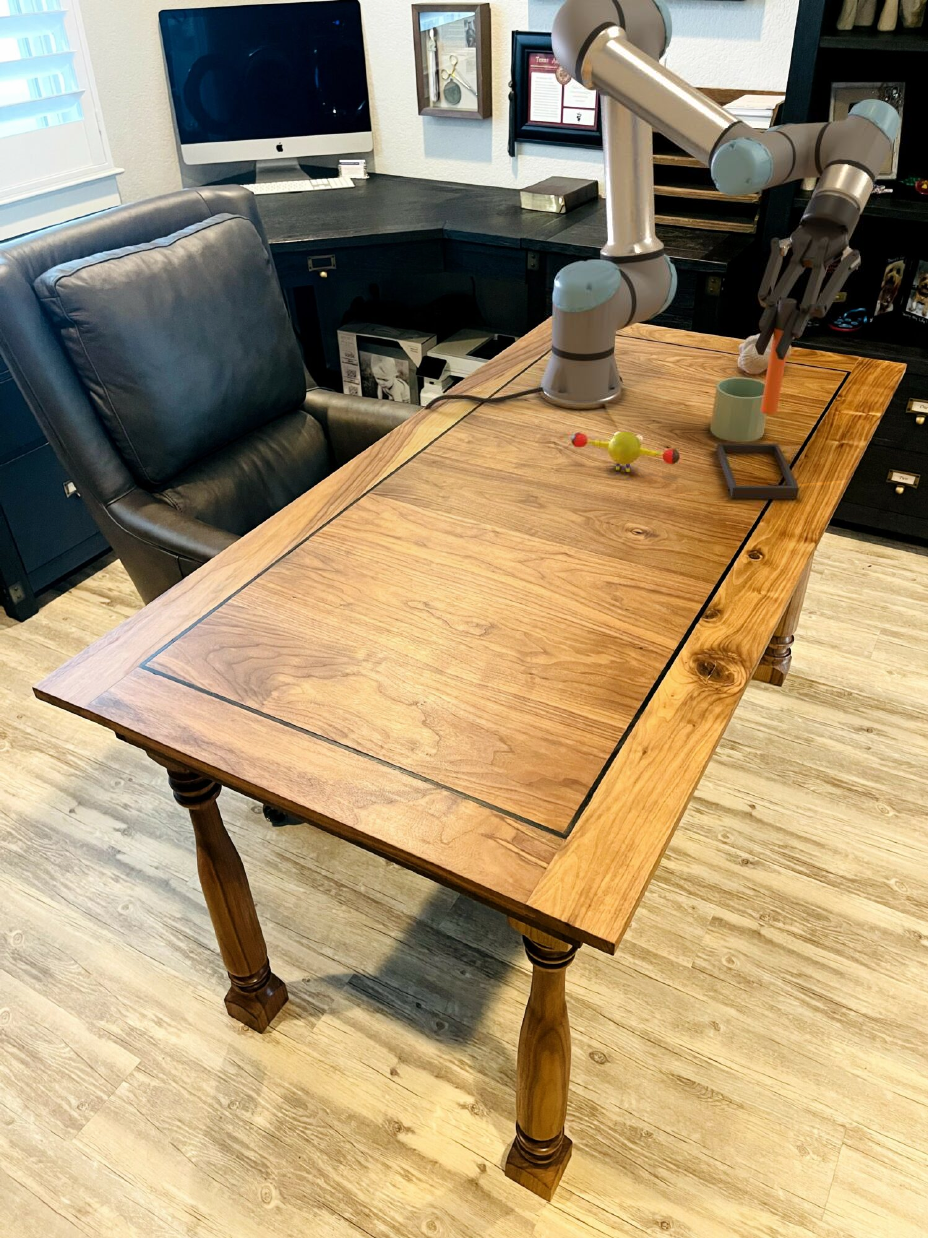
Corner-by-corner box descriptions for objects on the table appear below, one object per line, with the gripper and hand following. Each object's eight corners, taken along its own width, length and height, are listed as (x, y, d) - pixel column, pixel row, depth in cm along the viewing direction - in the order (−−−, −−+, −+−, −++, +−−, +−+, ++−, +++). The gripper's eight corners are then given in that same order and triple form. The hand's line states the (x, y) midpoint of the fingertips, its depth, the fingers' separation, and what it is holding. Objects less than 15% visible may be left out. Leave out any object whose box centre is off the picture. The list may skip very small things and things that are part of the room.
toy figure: (681, 473, 157) (686, 435, 153) (672, 488, 153) (677, 449, 149) (576, 454, 163) (578, 417, 159) (565, 468, 159) (567, 430, 155)
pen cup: (719, 446, 164) (727, 400, 159) (702, 424, 171) (709, 378, 166) (770, 443, 165) (779, 396, 160) (751, 420, 172) (759, 375, 167)
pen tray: (796, 499, 149) (799, 487, 148) (731, 498, 150) (733, 487, 148) (775, 454, 161) (778, 443, 160) (715, 454, 162) (717, 443, 161)
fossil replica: (725, 374, 190) (775, 388, 186) (734, 335, 184) (785, 348, 181) (744, 350, 197) (792, 362, 194) (753, 311, 192) (803, 323, 188)
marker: (763, 414, 147) (783, 303, 137) (758, 408, 149) (776, 298, 139) (779, 413, 147) (799, 302, 137) (773, 407, 149) (792, 297, 139)
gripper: (890, 229, 139) (824, 376, 138) (788, 215, 147) (725, 353, 146) (887, 198, 133) (817, 351, 132) (780, 184, 140) (714, 329, 140)
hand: (769, 352), depth 139 cm, fingers closed on marker, 2 cm apart
